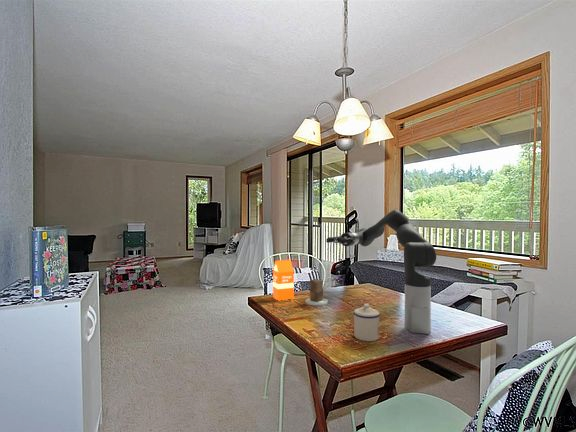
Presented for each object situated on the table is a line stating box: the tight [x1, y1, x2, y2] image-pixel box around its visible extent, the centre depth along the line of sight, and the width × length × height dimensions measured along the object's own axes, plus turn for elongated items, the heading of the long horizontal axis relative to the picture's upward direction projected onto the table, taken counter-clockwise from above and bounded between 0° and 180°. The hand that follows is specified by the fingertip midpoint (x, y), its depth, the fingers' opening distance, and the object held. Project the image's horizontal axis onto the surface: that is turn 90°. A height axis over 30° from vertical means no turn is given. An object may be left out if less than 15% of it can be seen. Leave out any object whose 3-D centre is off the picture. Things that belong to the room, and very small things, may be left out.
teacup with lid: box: [353, 303, 381, 342], centre depth 114 cm, size 12×9×12 cm
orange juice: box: [272, 259, 295, 302], centre depth 165 cm, size 8×9×20 cm
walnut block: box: [309, 278, 324, 302], centre depth 156 cm, size 4×4×10 cm
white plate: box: [305, 297, 329, 307], centre depth 156 cm, size 11×11×1 cm
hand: (333, 241), depth 163 cm, fingers open, 8 cm apart
